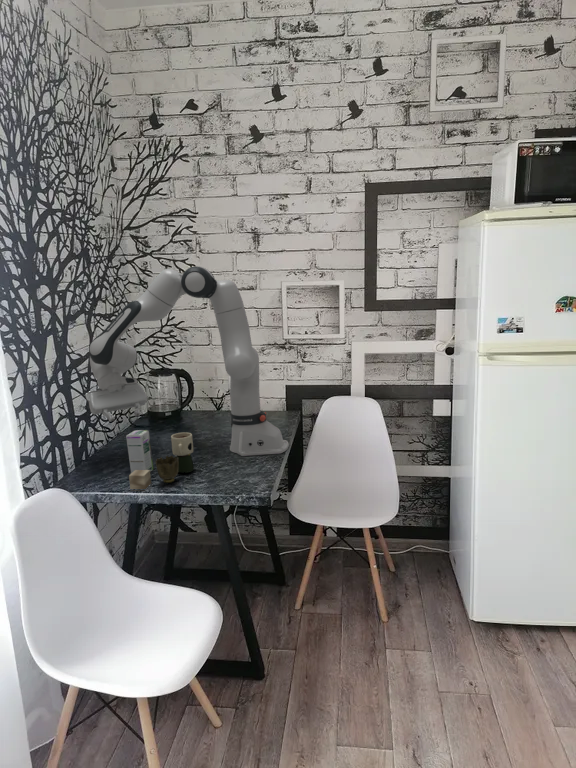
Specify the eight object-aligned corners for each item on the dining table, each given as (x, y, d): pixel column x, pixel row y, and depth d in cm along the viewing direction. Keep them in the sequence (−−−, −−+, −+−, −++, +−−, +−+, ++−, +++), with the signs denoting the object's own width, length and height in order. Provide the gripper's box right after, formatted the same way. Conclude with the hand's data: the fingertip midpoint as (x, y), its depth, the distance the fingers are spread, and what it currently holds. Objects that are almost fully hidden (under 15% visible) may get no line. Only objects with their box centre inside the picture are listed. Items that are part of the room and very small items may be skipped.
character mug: (193, 476, 186) (190, 439, 183) (172, 478, 186) (168, 440, 183) (197, 465, 196) (193, 430, 194) (176, 466, 196) (173, 431, 194)
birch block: (151, 484, 181) (149, 469, 180) (145, 490, 176) (143, 475, 175) (136, 484, 182) (135, 469, 181) (130, 490, 177) (128, 475, 176)
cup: (160, 488, 177) (158, 464, 175) (155, 481, 183) (152, 458, 182) (183, 483, 180) (181, 459, 178) (177, 476, 186) (174, 453, 185)
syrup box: (146, 475, 189) (142, 434, 186) (130, 475, 190) (125, 434, 187) (153, 469, 194) (149, 429, 192) (138, 469, 196) (133, 429, 193)
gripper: (84, 386, 195) (97, 418, 189) (140, 377, 207) (153, 407, 201) (82, 397, 199) (94, 428, 193) (137, 387, 211) (150, 417, 205)
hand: (125, 417), depth 197 cm, fingers open, 8 cm apart
